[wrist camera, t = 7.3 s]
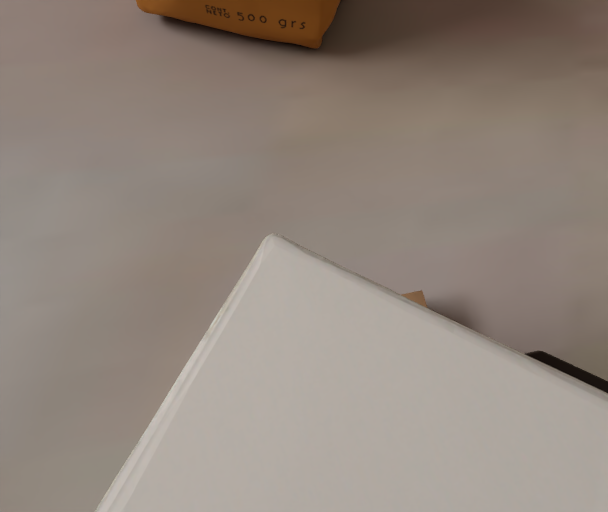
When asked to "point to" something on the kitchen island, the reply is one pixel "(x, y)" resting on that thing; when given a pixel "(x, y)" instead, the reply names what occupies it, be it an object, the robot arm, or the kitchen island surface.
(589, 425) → the skincare box
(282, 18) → the coffee package
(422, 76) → the kitchen island surface
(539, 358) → the robot arm
